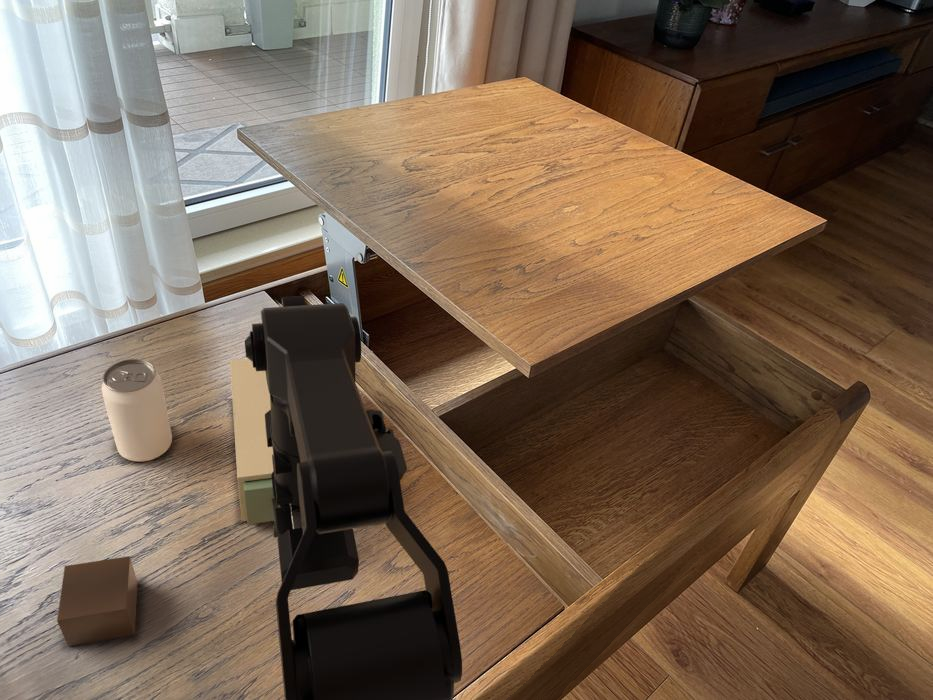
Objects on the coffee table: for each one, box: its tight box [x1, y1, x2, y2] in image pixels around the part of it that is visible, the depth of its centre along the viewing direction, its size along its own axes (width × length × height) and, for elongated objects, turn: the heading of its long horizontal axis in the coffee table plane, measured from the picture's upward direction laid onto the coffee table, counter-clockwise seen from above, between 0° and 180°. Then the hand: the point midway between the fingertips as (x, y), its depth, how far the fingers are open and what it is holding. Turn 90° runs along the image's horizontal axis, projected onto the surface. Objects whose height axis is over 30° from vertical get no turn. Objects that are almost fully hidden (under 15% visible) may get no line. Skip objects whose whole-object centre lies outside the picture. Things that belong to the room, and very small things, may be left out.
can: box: [101, 358, 173, 463], centre depth 87 cm, size 6×6×12 cm
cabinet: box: [229, 358, 273, 522], centre depth 90 cm, size 20×13×8 cm, turn 16°
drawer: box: [244, 478, 280, 539], centre depth 87 cm, size 23×11×6 cm, turn 16°
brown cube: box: [56, 555, 139, 647], centre depth 72 cm, size 6×6×5 cm
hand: (308, 541), depth 69 cm, fingers closed
